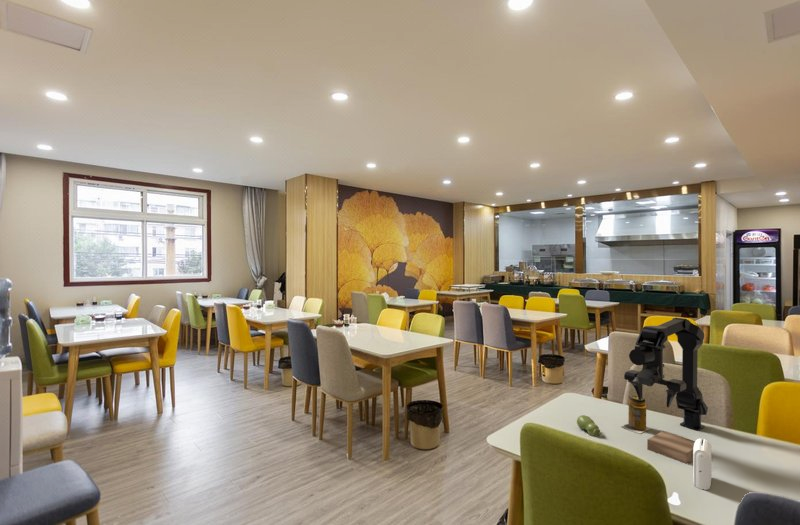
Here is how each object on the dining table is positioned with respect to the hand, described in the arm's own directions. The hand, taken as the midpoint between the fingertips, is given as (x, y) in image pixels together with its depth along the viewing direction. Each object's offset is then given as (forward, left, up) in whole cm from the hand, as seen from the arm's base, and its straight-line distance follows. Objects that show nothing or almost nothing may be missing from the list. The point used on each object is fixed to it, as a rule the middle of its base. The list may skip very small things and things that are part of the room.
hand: (654, 403), depth 146 cm
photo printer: (+17, +21, -14) cm, 30 cm away
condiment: (-6, -9, -14) cm, 18 cm away
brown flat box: (+3, +8, -14) cm, 17 cm away
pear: (+12, -18, -14) cm, 26 cm away
